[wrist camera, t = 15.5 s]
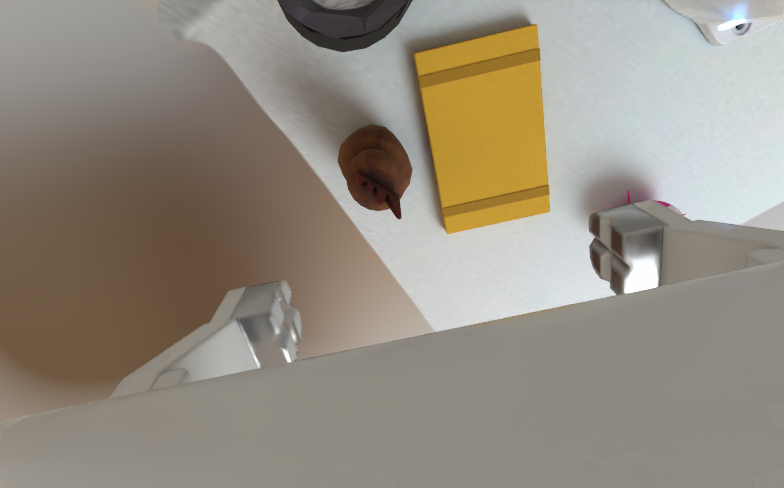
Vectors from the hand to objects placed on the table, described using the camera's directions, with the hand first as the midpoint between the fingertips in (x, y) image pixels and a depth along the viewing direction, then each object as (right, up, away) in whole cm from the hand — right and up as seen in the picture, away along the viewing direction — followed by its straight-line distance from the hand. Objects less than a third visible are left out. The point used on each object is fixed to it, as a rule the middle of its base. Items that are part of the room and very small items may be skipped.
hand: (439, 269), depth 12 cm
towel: (+8, +11, +32) cm, 35 cm away
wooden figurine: (-3, +10, +32) cm, 34 cm away
